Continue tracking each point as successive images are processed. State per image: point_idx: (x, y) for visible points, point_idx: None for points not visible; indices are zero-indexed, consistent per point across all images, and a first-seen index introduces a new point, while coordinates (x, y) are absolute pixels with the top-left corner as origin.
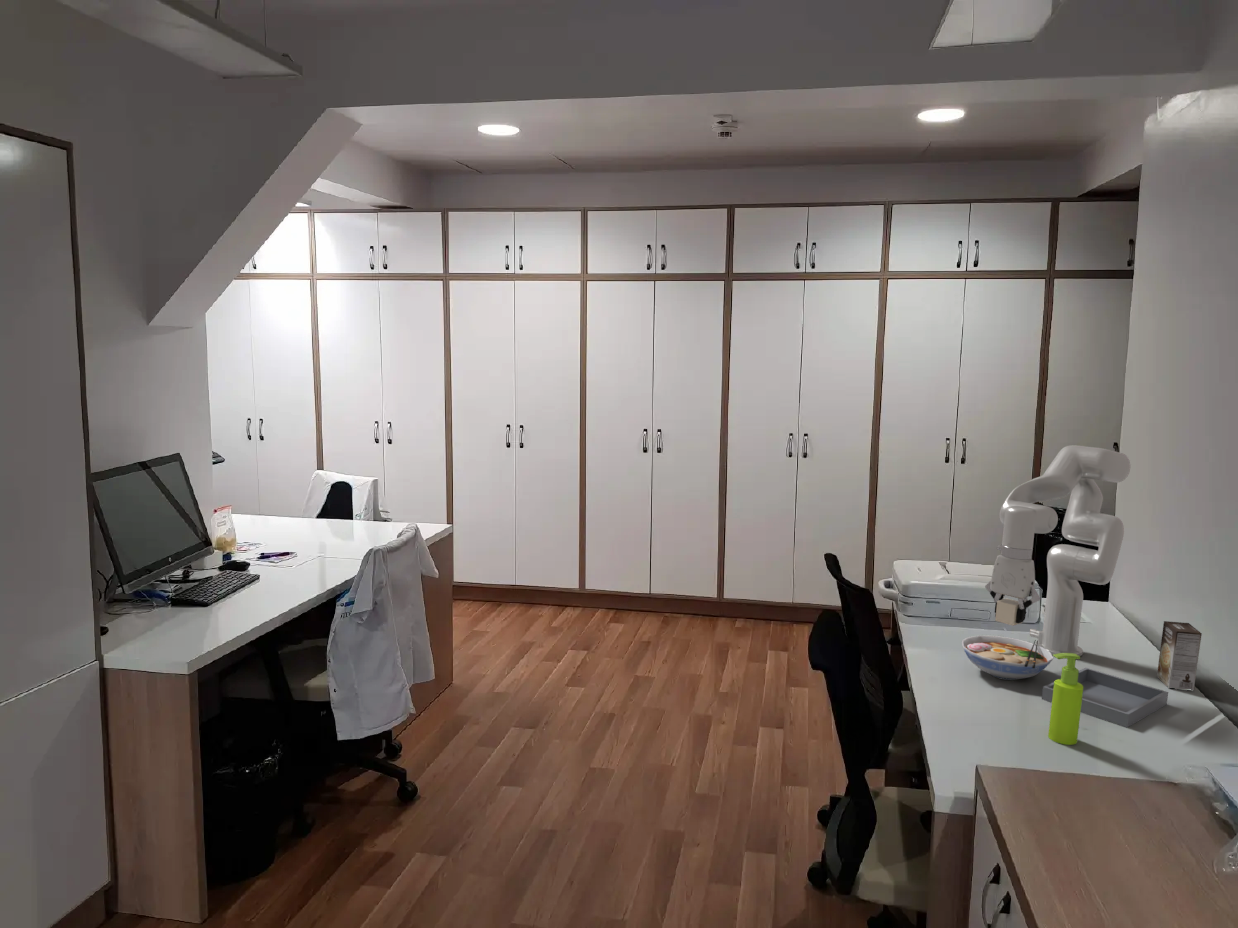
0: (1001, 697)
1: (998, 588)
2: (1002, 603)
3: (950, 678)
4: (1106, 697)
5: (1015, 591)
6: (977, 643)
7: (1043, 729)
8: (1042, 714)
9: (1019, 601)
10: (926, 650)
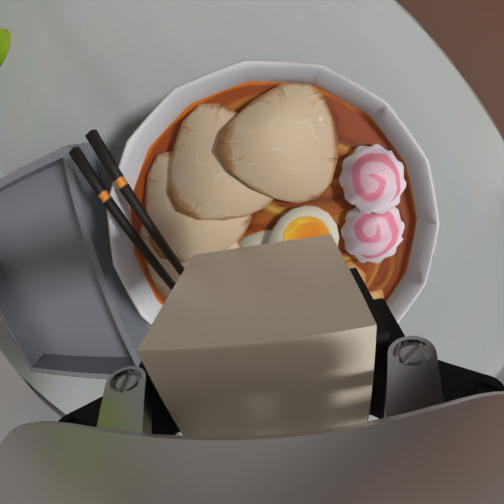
0: (151, 58)
1: (436, 473)
2: (301, 327)
3: (324, 34)
4: (67, 301)
5: (66, 492)
6: (399, 231)
7: (22, 40)
8: (52, 86)
9: (130, 418)
10: (495, 183)
